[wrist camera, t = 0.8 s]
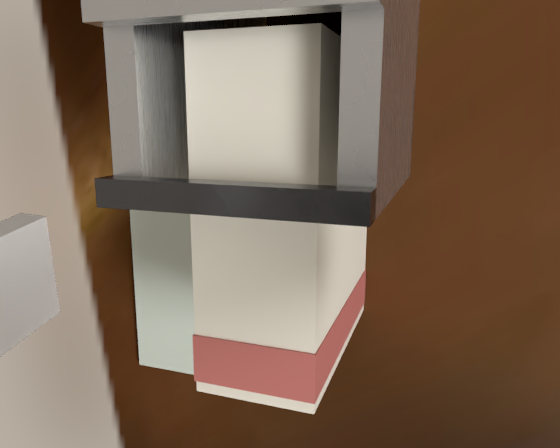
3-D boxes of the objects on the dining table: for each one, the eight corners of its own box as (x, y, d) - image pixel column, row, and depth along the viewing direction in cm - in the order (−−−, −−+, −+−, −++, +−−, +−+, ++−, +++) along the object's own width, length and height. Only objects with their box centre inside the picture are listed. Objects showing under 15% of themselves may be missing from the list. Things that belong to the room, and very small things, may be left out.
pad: (246, 381, 33) (244, 384, 32) (142, 361, 35) (139, 364, 35) (243, 169, 30) (240, 169, 29) (130, 164, 32) (126, 165, 32)
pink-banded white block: (364, 310, 29) (314, 416, 19) (281, 299, 31) (194, 391, 20) (374, 59, 26) (321, 22, 16) (282, 63, 28) (180, 30, 17)
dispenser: (245, -92, 27) (59, -276, 14) (426, -118, 24) (395, -382, 11) (248, 169, 30) (97, 207, 17) (409, 175, 27) (369, 227, 14)
